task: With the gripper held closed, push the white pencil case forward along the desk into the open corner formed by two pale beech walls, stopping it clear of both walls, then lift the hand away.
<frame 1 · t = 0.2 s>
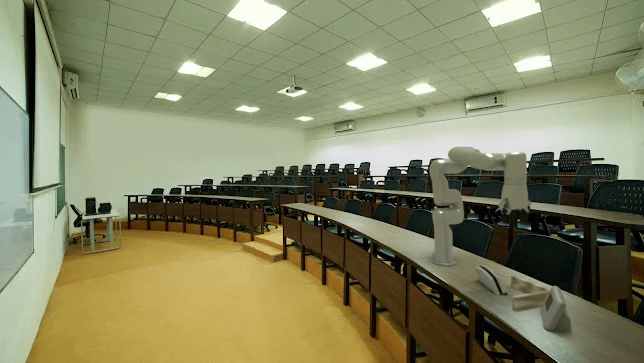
hand: (515, 222, 115), 31 cm above the table, tool pointing down, fingers open, 9 cm apart
white pencil case: (489, 287, 124), on the table
wooden corner wall: (517, 298, 112), on the table
digital clock: (552, 322, 95), on the table
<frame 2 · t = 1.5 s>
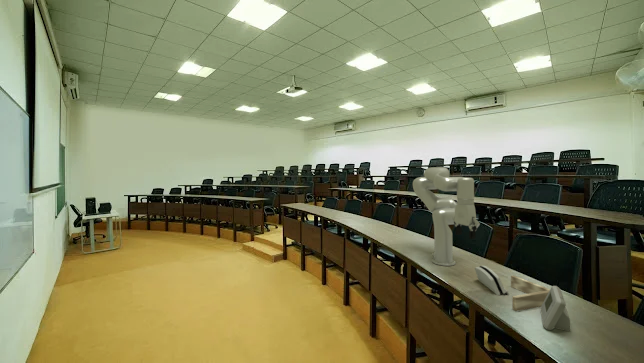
hand: (465, 236, 138), 20 cm above the table, tool pointing down, fingers open, 8 cm apart
nothing on the table moved.
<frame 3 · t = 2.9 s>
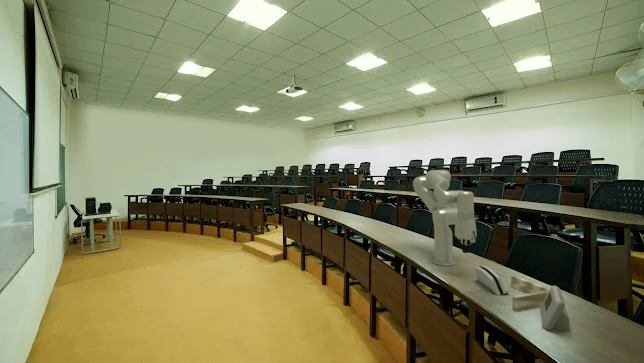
hand: (466, 252, 137), 12 cm above the table, tool pointing down, fingers closed
nothing on the table moved.
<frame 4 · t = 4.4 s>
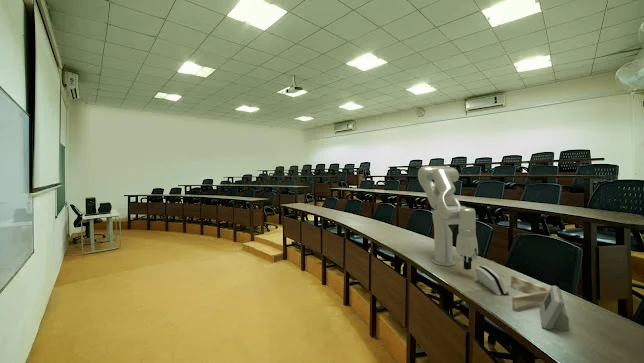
hand: (467, 269, 137), 4 cm above the table, tool pointing down, fingers closed
nothing on the table moved.
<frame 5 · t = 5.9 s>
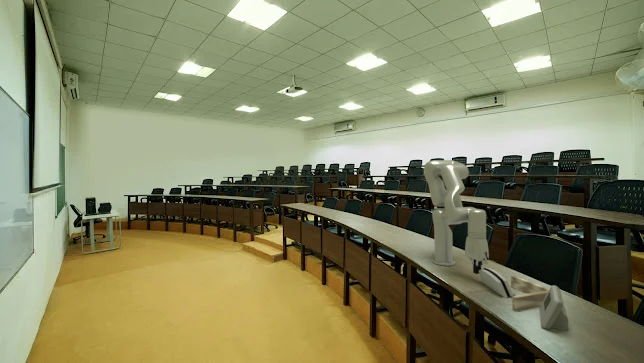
hand: (477, 273, 131), 4 cm above the table, tool pointing down, fingers closed
white pencil case: (495, 290, 122), on the table
everything else where it was.
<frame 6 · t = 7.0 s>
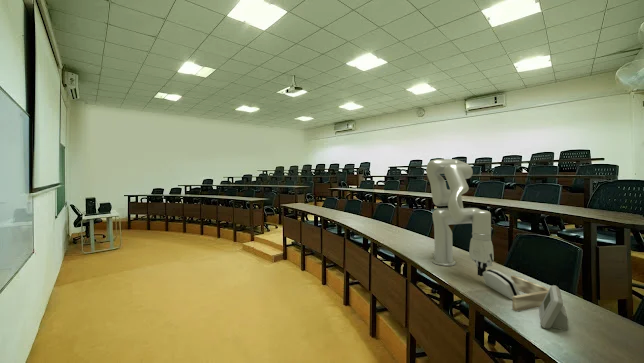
hand: (481, 275, 128), 4 cm above the table, tool pointing down, fingers closed
white pencil case: (500, 292, 119), on the table
everything else where it was.
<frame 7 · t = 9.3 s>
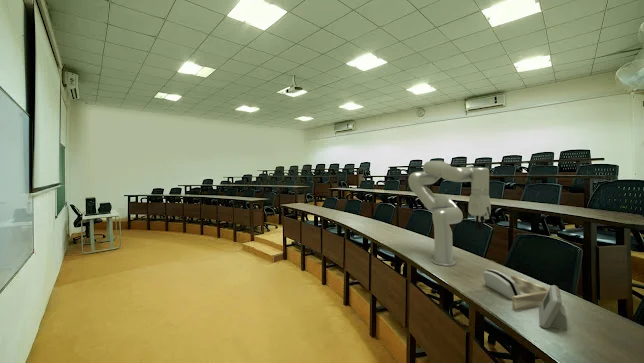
hand: (479, 229, 136), 24 cm above the table, tool pointing down, fingers closed
nothing on the table moved.
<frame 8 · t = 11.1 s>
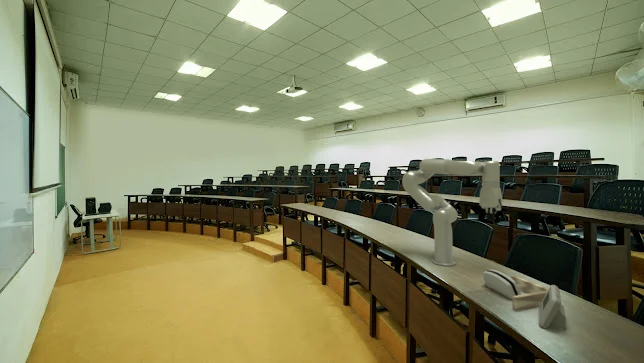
hand: (491, 220, 140), 27 cm above the table, tool pointing down, fingers closed
at the end: white pencil case inside the target area (0.7 cm from its centre), on the table; white pencil case touching table; white pencil case tilted 0° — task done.
